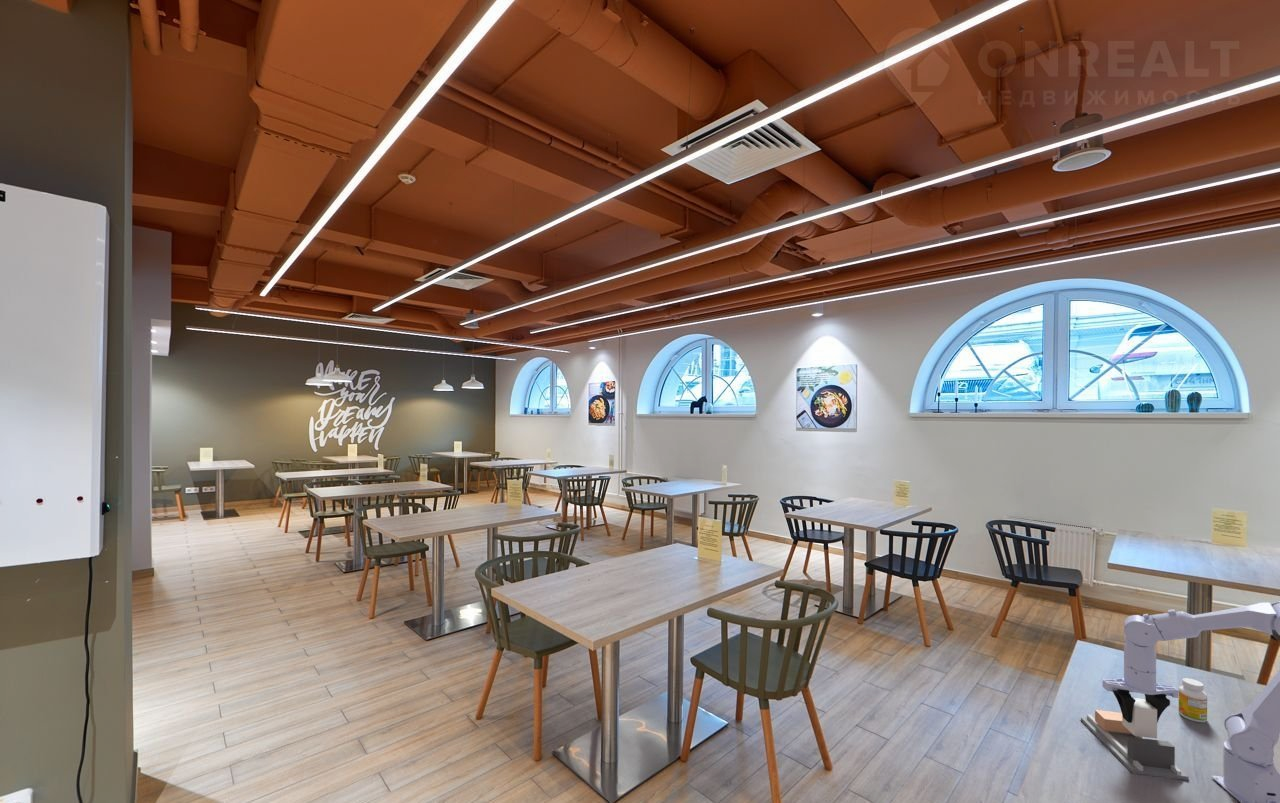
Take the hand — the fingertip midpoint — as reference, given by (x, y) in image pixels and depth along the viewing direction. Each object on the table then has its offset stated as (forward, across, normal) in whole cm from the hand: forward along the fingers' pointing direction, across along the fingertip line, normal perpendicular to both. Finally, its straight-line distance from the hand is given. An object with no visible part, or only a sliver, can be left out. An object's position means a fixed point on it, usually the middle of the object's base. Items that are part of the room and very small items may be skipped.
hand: (1139, 721), depth 127 cm
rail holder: (+9, 0, -3) cm, 9 cm away
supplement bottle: (+9, -25, -21) cm, 34 cm away
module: (+2, 0, 0) cm, 2 cm away
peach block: (+7, 0, -8) cm, 10 cm away
